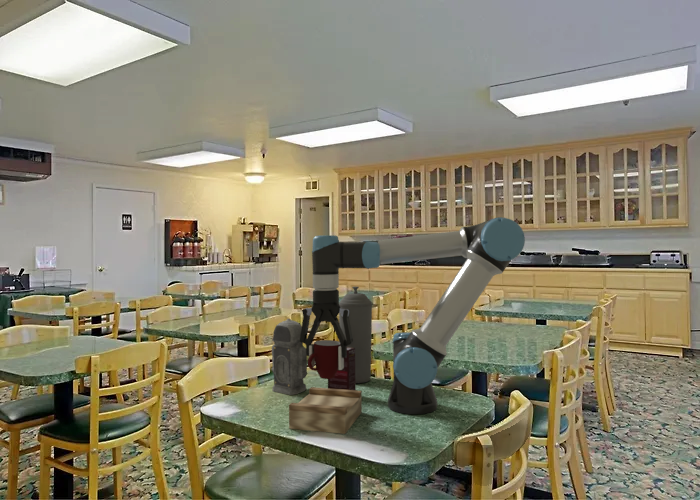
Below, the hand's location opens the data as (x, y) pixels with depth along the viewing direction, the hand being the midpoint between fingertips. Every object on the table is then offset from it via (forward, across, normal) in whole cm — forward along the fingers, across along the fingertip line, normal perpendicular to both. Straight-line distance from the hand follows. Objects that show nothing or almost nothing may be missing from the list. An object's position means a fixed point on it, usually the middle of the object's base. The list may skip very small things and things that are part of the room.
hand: (326, 367), depth 145 cm
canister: (+15, +3, -44) cm, 47 cm away
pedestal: (+15, 0, 0) cm, 15 cm away
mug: (+3, +1, 0) cm, 3 cm away
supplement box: (+15, +3, -25) cm, 29 cm away
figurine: (+15, +22, -26) cm, 37 cm away
